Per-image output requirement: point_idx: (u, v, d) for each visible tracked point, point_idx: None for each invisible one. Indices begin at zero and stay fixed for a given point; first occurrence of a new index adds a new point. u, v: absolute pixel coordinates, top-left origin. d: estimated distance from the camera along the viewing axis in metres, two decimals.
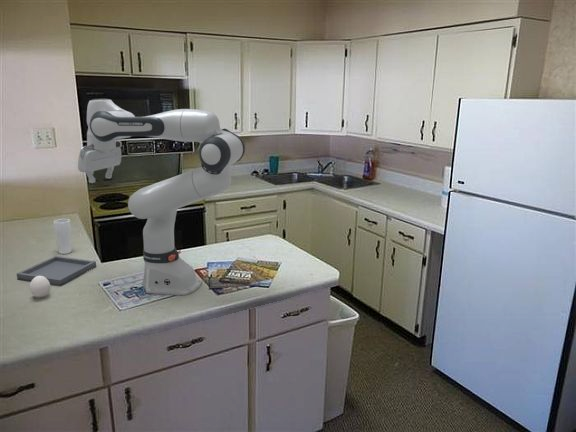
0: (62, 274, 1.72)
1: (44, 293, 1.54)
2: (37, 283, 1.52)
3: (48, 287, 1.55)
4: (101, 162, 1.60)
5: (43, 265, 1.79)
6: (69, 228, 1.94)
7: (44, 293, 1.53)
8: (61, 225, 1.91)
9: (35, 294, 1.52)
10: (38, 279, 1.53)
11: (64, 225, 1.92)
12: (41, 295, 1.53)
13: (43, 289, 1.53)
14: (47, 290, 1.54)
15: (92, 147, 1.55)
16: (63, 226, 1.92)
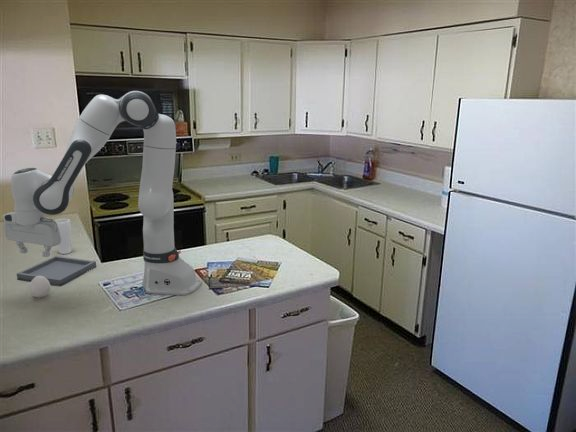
0: (62, 274, 1.72)
1: (44, 293, 1.54)
2: (37, 283, 1.52)
3: (48, 287, 1.55)
4: None
5: (43, 265, 1.79)
6: (69, 228, 1.94)
7: (44, 293, 1.53)
8: (61, 225, 1.91)
9: (35, 294, 1.52)
10: (38, 279, 1.53)
11: (64, 225, 1.92)
12: (41, 295, 1.53)
13: (43, 289, 1.53)
14: (47, 290, 1.54)
15: None
16: (62, 226, 1.92)
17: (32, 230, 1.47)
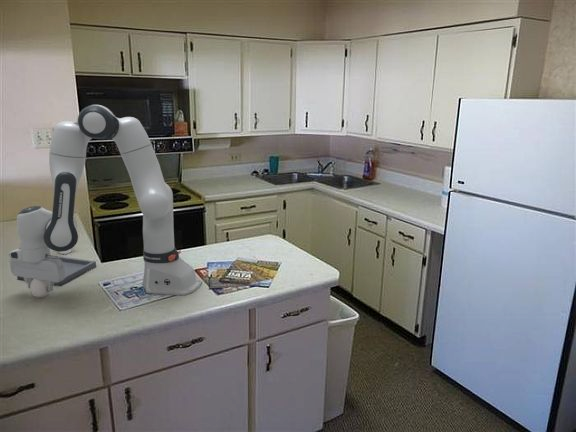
0: None
1: (44, 293, 1.54)
2: (38, 283, 1.52)
3: None
4: None
5: None
6: None
7: (44, 293, 1.53)
8: None
9: (35, 294, 1.52)
10: (38, 279, 1.52)
11: None
12: (41, 295, 1.53)
13: (44, 289, 1.53)
14: None
15: None
16: None
17: (37, 267, 1.51)
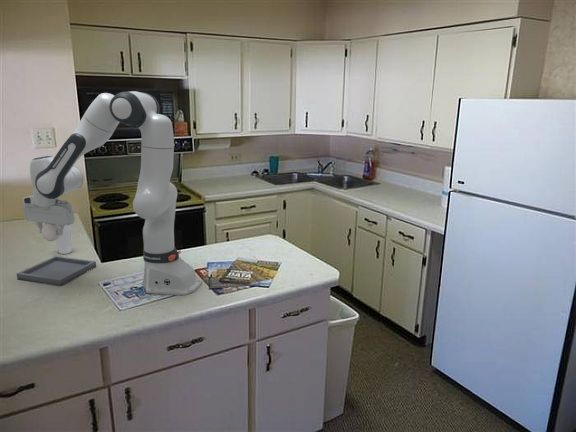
0: (62, 274, 1.72)
1: (55, 237, 1.68)
2: (49, 227, 1.66)
3: None
4: None
5: (43, 265, 1.79)
6: (69, 228, 1.94)
7: (55, 236, 1.68)
8: None
9: (47, 237, 1.67)
10: (49, 223, 1.67)
11: None
12: (52, 239, 1.68)
13: (54, 233, 1.67)
14: None
15: None
16: None
17: (49, 211, 1.65)
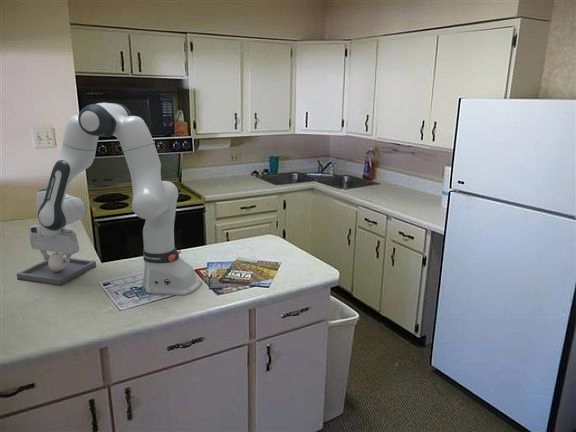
0: (62, 274, 1.72)
1: (61, 268, 1.73)
2: (55, 258, 1.72)
3: None
4: None
5: (43, 265, 1.79)
6: (69, 228, 1.94)
7: (61, 267, 1.73)
8: None
9: (53, 268, 1.72)
10: (55, 255, 1.72)
11: None
12: (58, 269, 1.73)
13: (61, 264, 1.73)
14: (63, 265, 1.74)
15: None
16: None
17: (54, 240, 1.70)
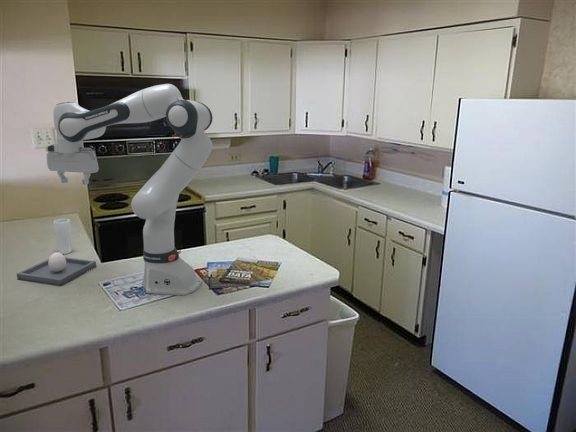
0: (62, 274, 1.72)
1: (61, 267, 1.73)
2: (55, 258, 1.72)
3: (64, 262, 1.74)
4: None
5: (43, 265, 1.79)
6: (69, 228, 1.94)
7: (61, 267, 1.73)
8: (61, 225, 1.91)
9: (53, 268, 1.72)
10: (55, 255, 1.72)
11: (64, 225, 1.92)
12: (58, 269, 1.73)
13: (61, 264, 1.73)
14: (64, 265, 1.74)
15: None
16: (63, 226, 1.92)
17: (73, 159, 1.62)
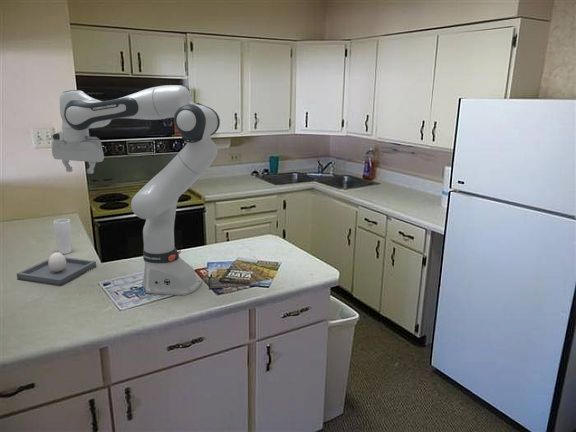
0: (62, 274, 1.72)
1: (61, 268, 1.73)
2: (55, 258, 1.72)
3: (64, 262, 1.74)
4: None
5: (43, 265, 1.79)
6: (69, 228, 1.94)
7: (61, 267, 1.73)
8: (61, 225, 1.91)
9: (53, 268, 1.72)
10: (55, 255, 1.72)
11: (64, 225, 1.92)
12: (58, 269, 1.73)
13: (61, 264, 1.73)
14: (63, 265, 1.74)
15: None
16: (63, 226, 1.92)
17: (78, 148, 1.61)
